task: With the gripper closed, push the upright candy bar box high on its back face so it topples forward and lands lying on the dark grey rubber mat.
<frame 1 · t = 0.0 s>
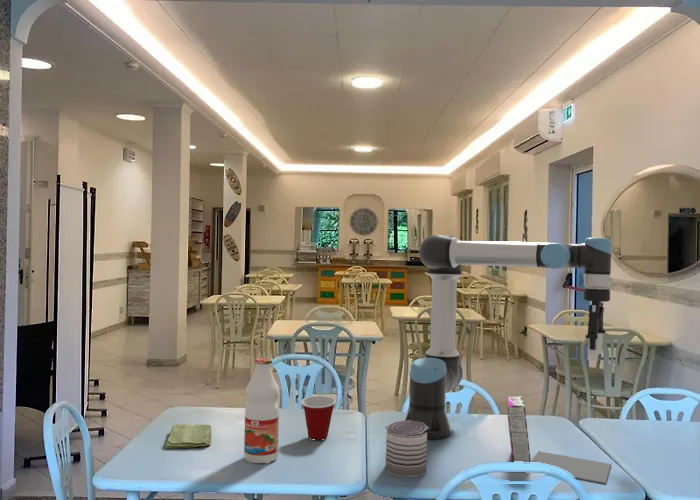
hand: (595, 357, 185), 28 cm above the table, tool pointing down, fingers open, 13 cm apart
plastic cup: (317, 438, 188), on the table
can: (405, 470, 163), on the table
fruit juice: (260, 459, 169), on the table
mat: (569, 467, 168), on the table
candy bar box: (520, 458, 175), on the table
washcloth: (190, 441, 184), on the table
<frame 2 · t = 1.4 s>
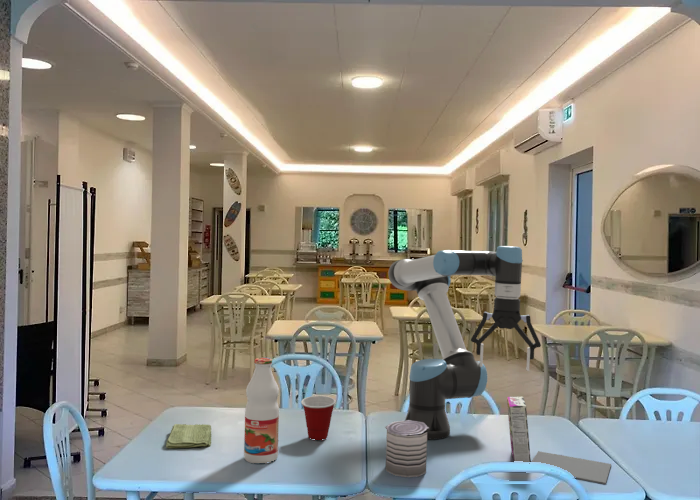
hand: (504, 368, 181), 25 cm above the table, tool pointing down, fingers open, 13 cm apart
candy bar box: (520, 458, 175), on the table, touching mat
everything else where it was.
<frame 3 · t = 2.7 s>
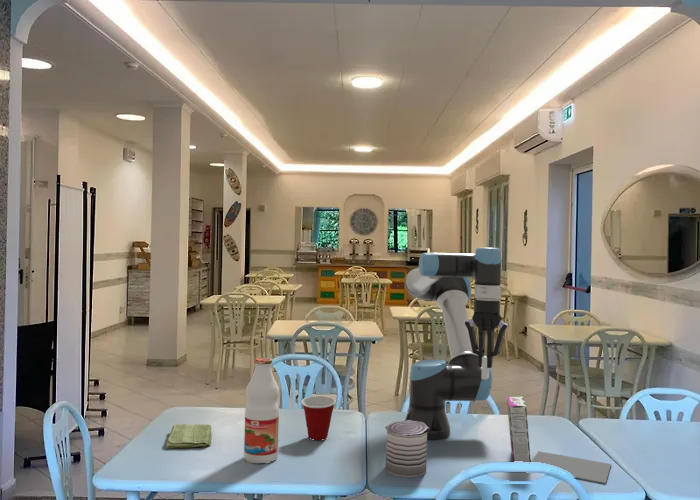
hand: (485, 378, 180), 22 cm above the table, tool pointing down, fingers closed
nothing on the table moved.
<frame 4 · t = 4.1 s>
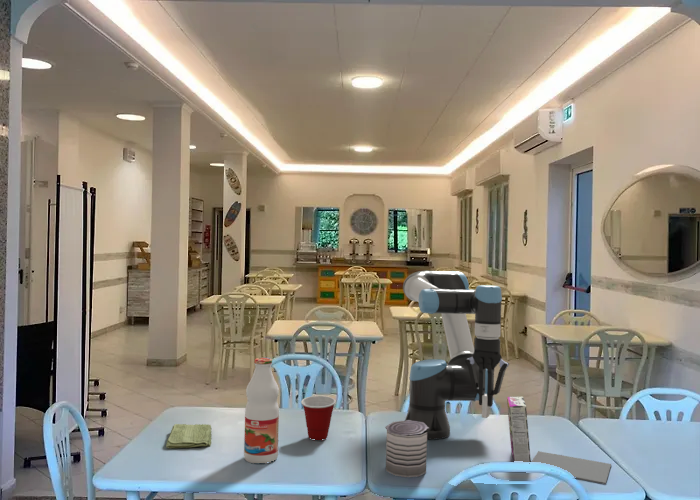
hand: (485, 416, 179), 10 cm above the table, tool pointing down, fingers closed
nothing on the table moved.
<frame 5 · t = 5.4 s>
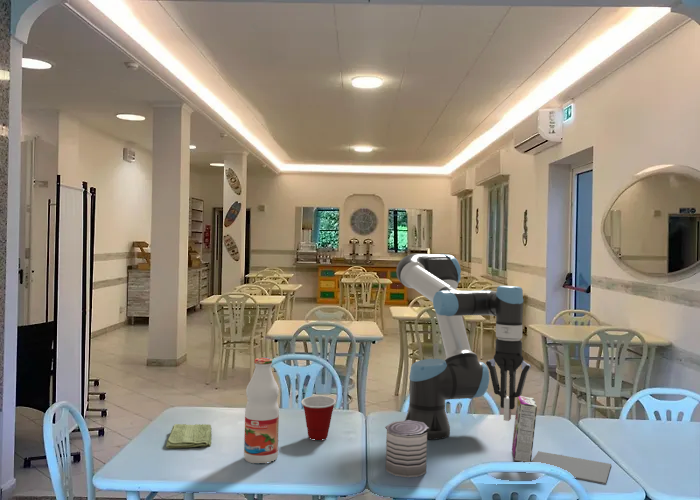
hand: (507, 419, 176), 11 cm above the table, tool pointing down, fingers closed
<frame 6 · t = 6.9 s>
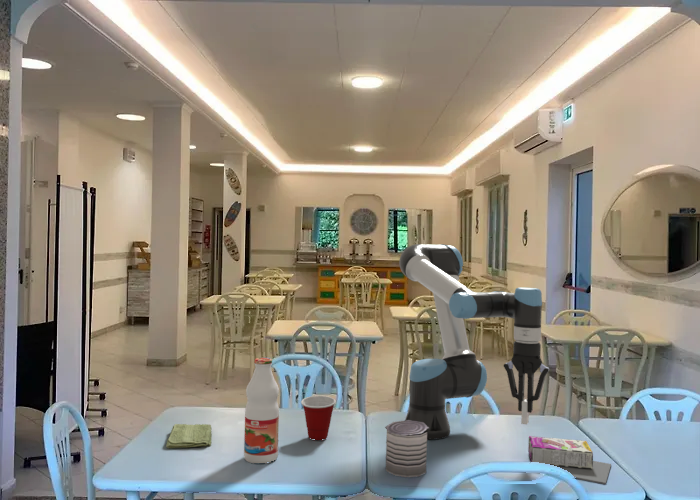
hand: (524, 422, 174), 10 cm above the table, tool pointing down, fingers closed
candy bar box: (529, 448, 174), point 3 cm above the table, touching mat
everything else where it was.
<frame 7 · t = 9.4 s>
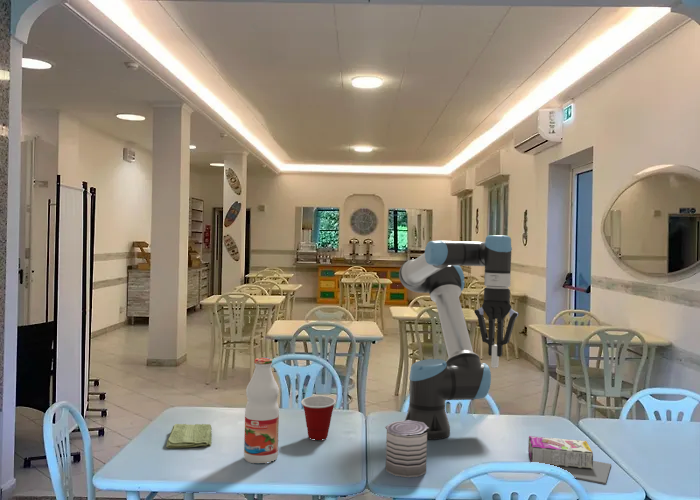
hand: (494, 366, 179), 25 cm above the table, tool pointing down, fingers closed
nothing on the table moved.
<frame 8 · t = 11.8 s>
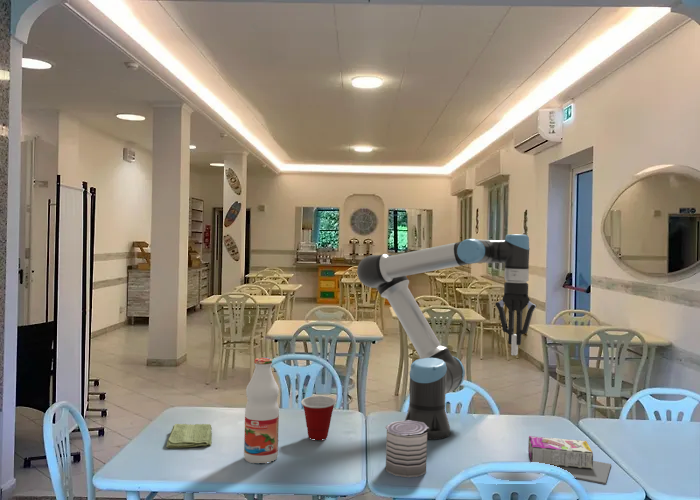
hand: (514, 354, 195), 26 cm above the table, tool pointing down, fingers closed
nothing on the table moved.
at the end: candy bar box tilted 91°; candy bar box inside the target area (9.8 cm from its centre), point 2.9 cm above the table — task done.
